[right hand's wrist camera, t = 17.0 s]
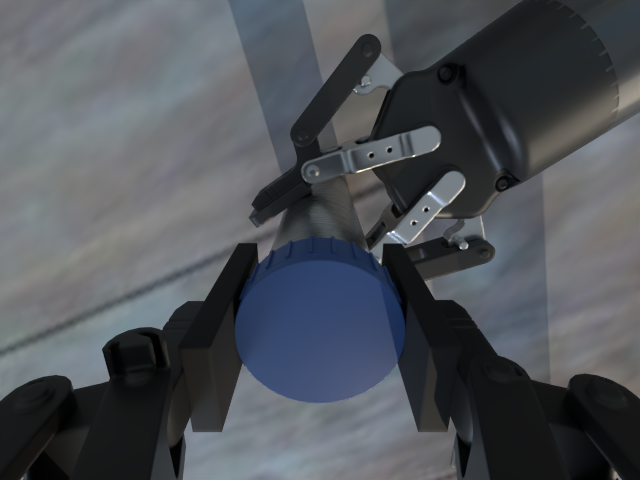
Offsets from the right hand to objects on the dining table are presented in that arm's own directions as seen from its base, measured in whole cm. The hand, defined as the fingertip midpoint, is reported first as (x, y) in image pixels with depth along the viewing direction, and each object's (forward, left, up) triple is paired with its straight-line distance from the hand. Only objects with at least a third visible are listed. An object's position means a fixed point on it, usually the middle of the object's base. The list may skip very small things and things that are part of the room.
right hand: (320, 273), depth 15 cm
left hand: (-1, -3, -6) cm, 6 cm away
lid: (0, 0, +4) cm, 4 cm away
